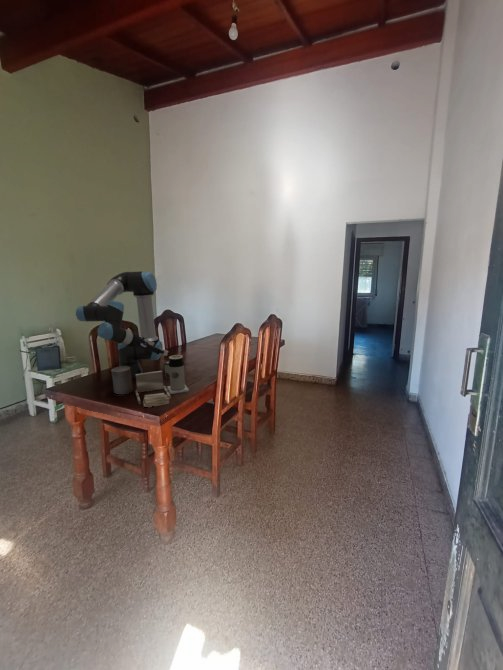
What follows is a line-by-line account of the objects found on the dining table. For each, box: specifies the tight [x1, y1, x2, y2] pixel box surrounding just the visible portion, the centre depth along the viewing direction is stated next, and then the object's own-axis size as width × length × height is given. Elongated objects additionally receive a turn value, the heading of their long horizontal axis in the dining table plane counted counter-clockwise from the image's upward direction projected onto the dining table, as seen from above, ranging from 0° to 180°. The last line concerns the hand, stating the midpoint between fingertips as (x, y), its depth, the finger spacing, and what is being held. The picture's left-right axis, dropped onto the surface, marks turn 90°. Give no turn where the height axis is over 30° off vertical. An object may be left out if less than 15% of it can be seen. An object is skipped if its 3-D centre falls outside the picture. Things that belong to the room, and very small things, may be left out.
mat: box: [166, 384, 190, 395], centre depth 188 cm, size 10×10×1 cm
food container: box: [163, 360, 170, 380], centre depth 208 cm, size 12×6×10 cm, turn 65°
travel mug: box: [168, 354, 186, 390], centre depth 186 cm, size 8×8×18 cm
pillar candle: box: [110, 366, 134, 395], centre depth 184 cm, size 10×10×15 cm
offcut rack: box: [135, 370, 172, 408], centre depth 177 cm, size 26×16×10 cm, turn 24°
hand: (160, 349), depth 186 cm, fingers open, 13 cm apart
